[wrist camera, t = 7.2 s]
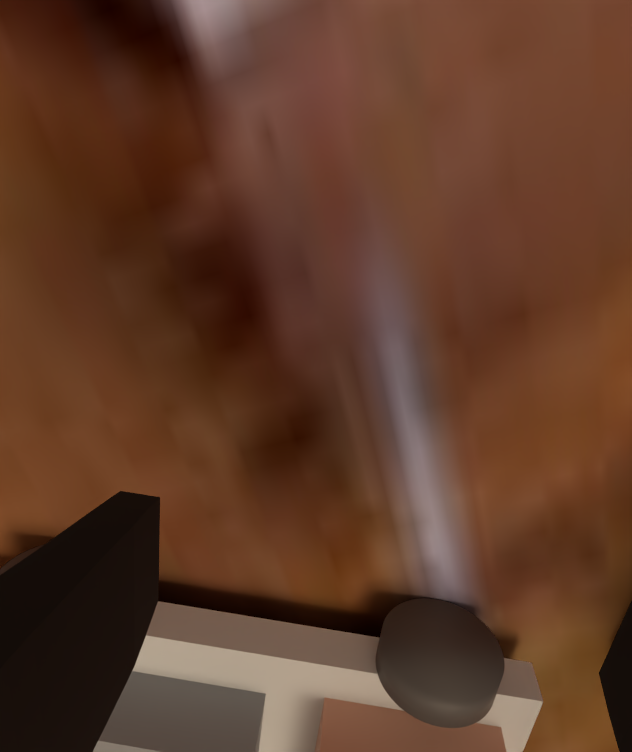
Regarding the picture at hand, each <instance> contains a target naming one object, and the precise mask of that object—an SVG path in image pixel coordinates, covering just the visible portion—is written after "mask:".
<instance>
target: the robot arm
mask: <svg viewBox="0 0 632 752" xmlns="http://www.w3.org/2000/svg"><path fill="white" fill-rule="evenodd" d="M159 523H160V497H155V496H148V495H142V494H136V493H129V492H123V491H120V492H118V493H117V494H116V495H114V496H113V497H111V498H110V499H108V500H107V501H105V502H104V503H102V504H101V505H100V506H98V507H97V508H95V509H94V510H92V511H91V512H90V513H88V514H87V515H85V516H84V517H83V518H81V519H80V520H78V521H77V522H76V523H74V524H73V525H71V526H70V527H69V528H67V529H66V530H64V531H63V532H62V533H60V534H59V535H57V536H56V537H55V538H53V539H52V540H50V541H49V542H47V543H46V544H45V545H43V546H42V547H40V548H39V549H37V550H36V551H34V552H33V553H32V554H30V555H29V556H27V557H26V558H24V559H23V560H21V561H20V562H18V563H17V564H15V565H14V566H13V567H11V568H10V569H8V570H7V571H5V572H4V573H2V574H1V575H0V752H93V750H94V748H95V746H96V744H97V742H98V740H99V738H100V736H101V734H102V732H103V730H104V728H105V726H106V724H107V722H108V720H109V718H110V716H111V714H112V712H113V710H114V708H115V706H116V703H117V701H118V699H119V697H120V695H121V693H122V691H123V689H124V687H125V685H126V683H127V681H128V679H129V677H130V675H131V673H132V670H133V668H134V666H135V664H136V661H137V658H138V656H139V653H140V650H141V647H142V645H143V642H144V639H145V637H146V634H147V631H148V628H149V625H150V623H151V620H152V617H153V614H154V611H155V608H156V606H157V603H158V585H159ZM599 675H600V679H601V683H602V687H603V692H604V696H605V700H606V704H607V708H608V712H609V716H610V720H611V723H612V727H613V730H614V734H615V738H616V741H617V745H618V748H619V751H620V752H632V601H631V603H630V606H629V608H628V610H627V612H626V614H625V617H624V619H623V621H622V623H621V625H620V628H619V630H618V632H617V634H616V637H615V639H614V641H613V643H612V645H611V648H610V650H609V652H608V654H607V656H606V659H605V661H604V663H603V665H602V667H601V670H600V672H599Z"/></svg>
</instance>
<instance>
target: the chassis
mask: <svg viewBox="0 0 632 752" xmlns="http://www.w3.org/2000/svg"><path fill="white" fill-rule="evenodd" d="M44 545H45V544H44ZM42 546H43V545H41V546H38V547H35V548H32V549H29V550H27V551H25V552H23V553H21V554H19V555H18V556H16V557H14V558H13V559H11V560H10V561H9V562H7V563H6V564H5V565H4V566H3V567H2V568H1V569H0V575H1V574H2V573H4V572H5V571H7V570H8V569H10V568H11V567H13V566H14V565H15V564H17V563H18V562H20V561H21V560H23V559H24V558H26V557H27V556H29V555H30V554H32V553H33V552H34V551H36V550H37V549H39V548H40V547H42ZM542 704H543V699H542V696H541V692H540V689H539V685H538V682H537V679H536V675H535V672H534V669H533V665H532V663H531V662H525V661H519V660H513V659H507V658H504V656H503V652H502V649H501V647H500V645H499V643H498V641H497V639H496V637H495V636H494V634H493V633H492V632H491V631H490V629H489V628H488V627H487V626H486V625H485V624H484V623H483V622H482V621H481V620H480V619H478V618H477V617H476V616H474V615H473V614H472V613H470V612H468V611H467V610H465V609H463V608H461V607H459V606H457V605H454V604H452V603H449V602H446V601H442V600H437V599H429V598H420V599H413V600H408V601H406V602H403V603H401V604H399V605H397V606H396V607H394V608H393V609H392V610H391V611H390V612H389V613H388V615H387V616H386V618H385V620H384V622H383V626H382V630H381V635H380V638H379V637H373V636H367V635H361V634H354V633H348V632H342V631H336V630H330V629H324V628H318V627H312V626H306V625H300V624H294V623H288V622H281V621H275V620H269V619H263V618H257V617H251V616H245V615H239V614H233V613H227V612H221V611H215V610H208V609H202V608H196V607H190V606H184V605H178V604H172V603H166V602H160V601H158V603H157V606H156V608H155V611H154V614H153V617H152V620H151V623H150V625H149V628H148V631H147V634H146V637H145V639H144V642H143V645H142V647H141V650H140V653H139V656H138V658H137V661H136V664H135V666H134V668H133V670H132V673H131V675H130V677H129V679H128V681H127V683H126V685H125V687H124V689H123V691H122V693H121V695H120V697H119V699H118V701H117V703H116V706H115V708H114V710H113V712H112V714H111V716H110V718H109V720H108V722H107V724H106V726H105V728H104V730H103V732H102V734H101V736H100V738H99V740H98V742H97V744H96V746H95V748H94V750H93V752H523V750H524V748H525V745H526V743H527V740H528V738H529V735H530V733H531V731H532V728H533V726H534V723H535V721H536V718H537V716H538V713H539V711H540V709H541V706H542Z"/></svg>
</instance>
